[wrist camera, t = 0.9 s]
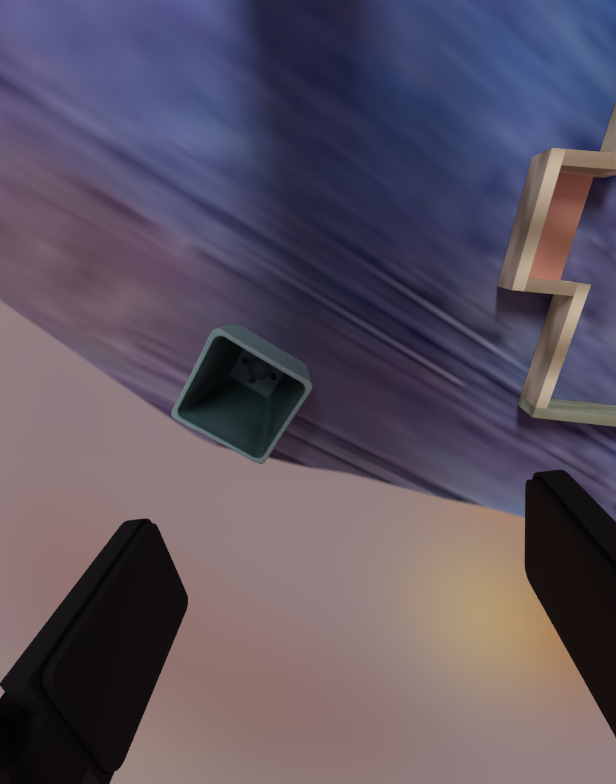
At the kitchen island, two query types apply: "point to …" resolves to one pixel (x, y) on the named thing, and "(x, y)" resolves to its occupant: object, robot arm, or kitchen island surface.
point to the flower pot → (243, 392)
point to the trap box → (555, 268)
